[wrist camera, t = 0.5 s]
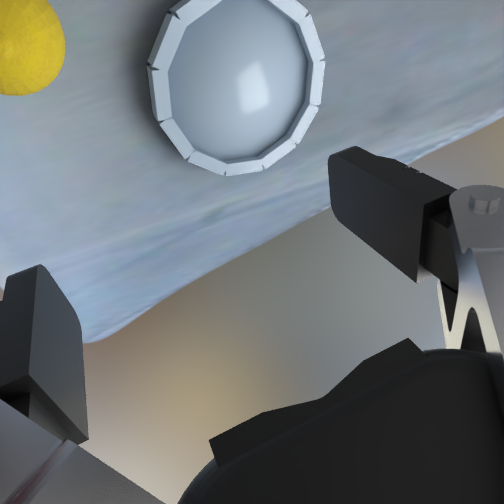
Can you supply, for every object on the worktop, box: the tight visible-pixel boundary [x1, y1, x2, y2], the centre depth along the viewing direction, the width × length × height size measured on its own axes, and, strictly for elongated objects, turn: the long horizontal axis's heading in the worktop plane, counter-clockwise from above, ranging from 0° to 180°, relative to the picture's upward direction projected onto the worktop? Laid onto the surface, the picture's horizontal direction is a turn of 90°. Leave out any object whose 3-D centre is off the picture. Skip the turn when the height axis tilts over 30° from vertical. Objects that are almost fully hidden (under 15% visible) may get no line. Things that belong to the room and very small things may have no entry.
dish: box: [147, 0, 325, 176], centre depth 29 cm, size 13×13×2 cm
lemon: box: [0, 0, 66, 96], centre depth 19 cm, size 6×6×8 cm
